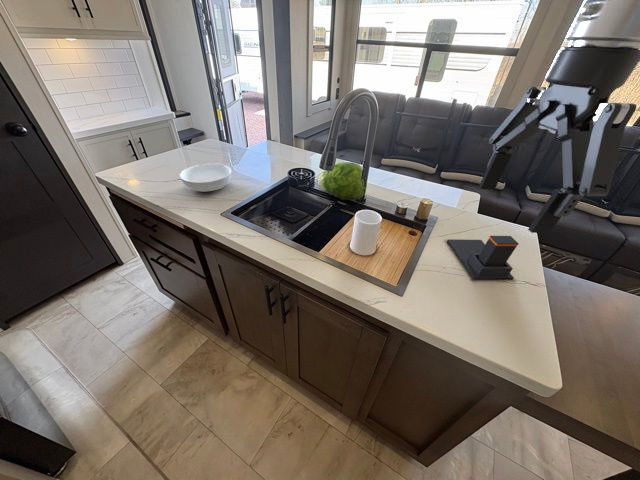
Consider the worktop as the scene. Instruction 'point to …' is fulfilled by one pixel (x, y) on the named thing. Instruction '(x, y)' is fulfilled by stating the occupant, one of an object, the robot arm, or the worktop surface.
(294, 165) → the worktop surface
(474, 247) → the base pad
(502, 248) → the black orange-striped block
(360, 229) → the mug
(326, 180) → the lettuce
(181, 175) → the serving bowl
